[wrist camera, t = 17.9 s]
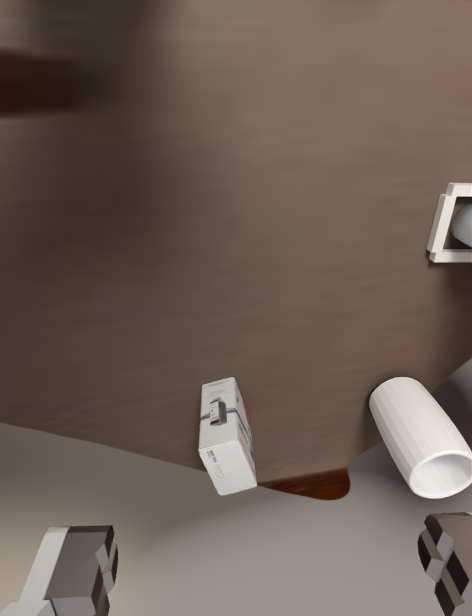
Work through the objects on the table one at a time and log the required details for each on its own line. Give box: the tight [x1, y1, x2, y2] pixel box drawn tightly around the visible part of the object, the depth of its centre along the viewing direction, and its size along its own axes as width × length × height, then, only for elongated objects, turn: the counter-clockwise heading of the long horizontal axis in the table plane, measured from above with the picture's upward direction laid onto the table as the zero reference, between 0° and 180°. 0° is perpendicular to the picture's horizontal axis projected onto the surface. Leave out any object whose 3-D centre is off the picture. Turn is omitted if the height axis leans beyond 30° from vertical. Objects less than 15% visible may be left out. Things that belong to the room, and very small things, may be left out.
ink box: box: [199, 377, 257, 496], centre depth 51 cm, size 9×5×12 cm, turn 17°
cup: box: [369, 377, 472, 498], centre depth 51 cm, size 8×8×14 cm
